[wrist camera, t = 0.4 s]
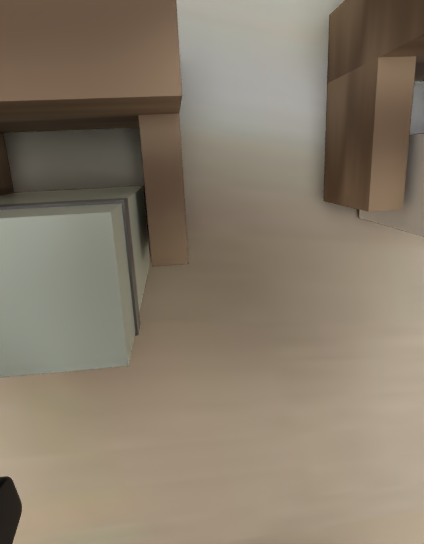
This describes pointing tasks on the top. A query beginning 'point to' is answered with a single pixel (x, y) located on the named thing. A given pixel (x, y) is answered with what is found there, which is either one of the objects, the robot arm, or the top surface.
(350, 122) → the housing
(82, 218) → the pale green box
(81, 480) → the top surface
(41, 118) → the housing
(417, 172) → the white rectangular block
